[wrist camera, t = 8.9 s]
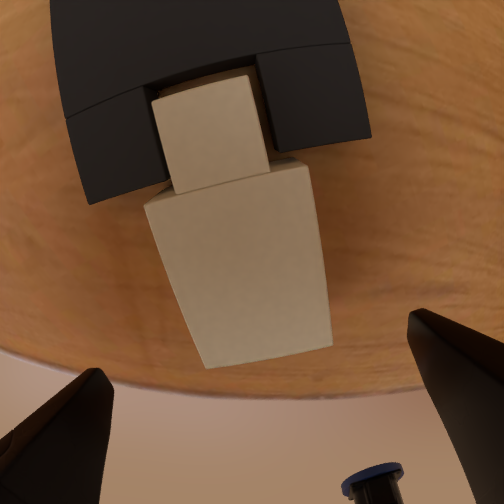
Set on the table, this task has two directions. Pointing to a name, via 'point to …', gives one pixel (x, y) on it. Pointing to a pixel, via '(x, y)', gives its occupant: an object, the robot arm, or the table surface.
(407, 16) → the table surface
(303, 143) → the socket pad
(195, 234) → the beige stepped block
